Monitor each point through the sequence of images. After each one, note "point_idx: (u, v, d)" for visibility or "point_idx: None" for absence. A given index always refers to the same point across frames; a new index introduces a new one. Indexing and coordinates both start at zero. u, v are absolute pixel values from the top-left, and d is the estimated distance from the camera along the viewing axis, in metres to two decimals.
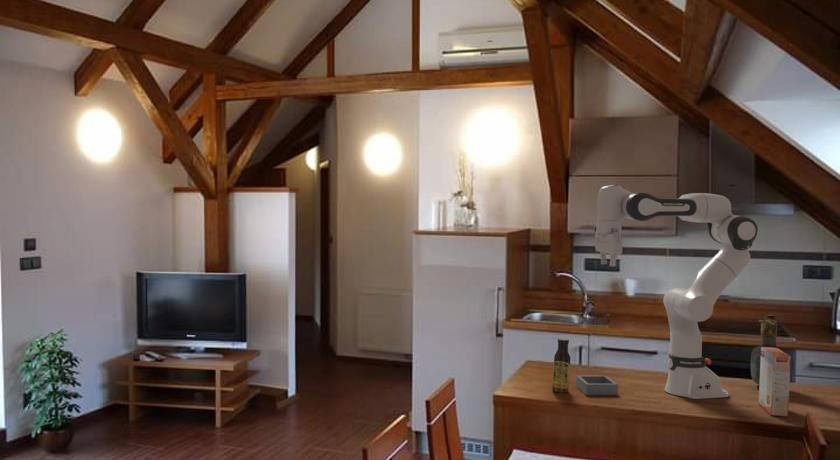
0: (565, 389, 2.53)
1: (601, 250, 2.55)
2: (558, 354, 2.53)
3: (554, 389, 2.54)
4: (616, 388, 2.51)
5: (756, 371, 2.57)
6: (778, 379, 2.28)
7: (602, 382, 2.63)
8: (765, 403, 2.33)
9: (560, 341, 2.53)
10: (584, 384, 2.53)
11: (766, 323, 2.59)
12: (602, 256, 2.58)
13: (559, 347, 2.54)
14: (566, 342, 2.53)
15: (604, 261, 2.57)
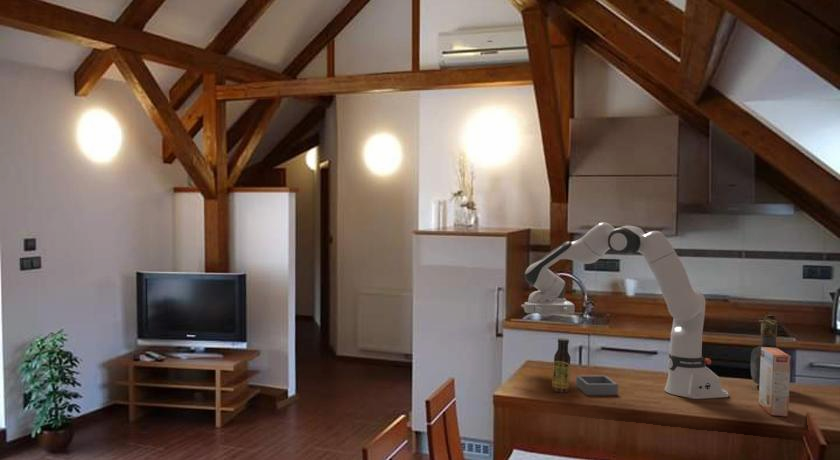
0: (565, 389, 2.53)
1: (556, 313, 2.73)
2: (558, 354, 2.53)
3: (554, 389, 2.54)
4: (616, 388, 2.51)
5: (756, 371, 2.57)
6: (778, 379, 2.28)
7: (602, 382, 2.63)
8: (765, 403, 2.33)
9: (560, 341, 2.53)
10: (584, 384, 2.53)
11: (766, 323, 2.59)
12: None
13: (559, 347, 2.54)
14: (566, 342, 2.53)
15: (562, 310, 2.69)
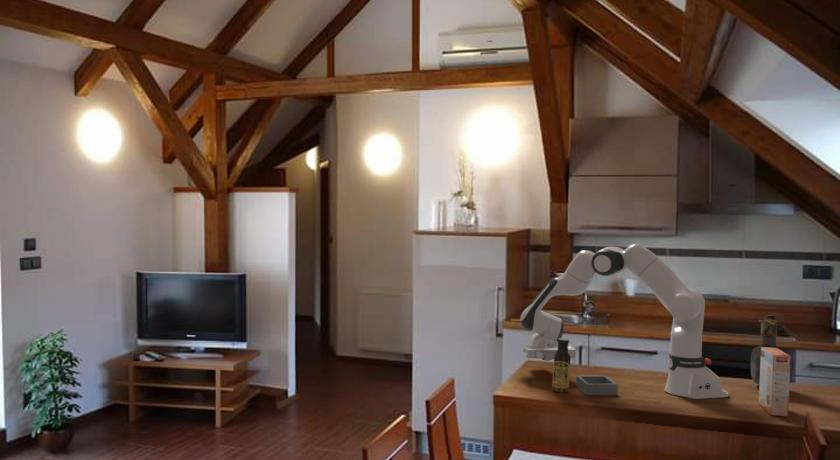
0: (565, 389, 2.53)
1: None
2: (558, 354, 2.53)
3: (554, 389, 2.54)
4: (616, 388, 2.51)
5: (756, 371, 2.57)
6: (778, 379, 2.28)
7: (602, 382, 2.63)
8: (765, 403, 2.33)
9: (560, 341, 2.53)
10: (584, 384, 2.53)
11: (766, 323, 2.59)
12: None
13: (559, 347, 2.54)
14: (566, 342, 2.53)
15: None
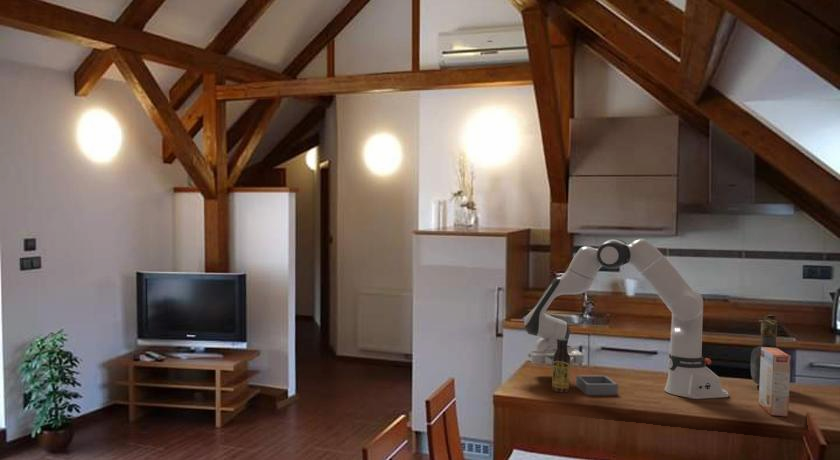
0: (565, 389, 2.53)
1: None
2: (557, 354, 2.53)
3: (554, 389, 2.54)
4: (616, 388, 2.51)
5: (756, 371, 2.57)
6: (778, 379, 2.28)
7: (602, 382, 2.63)
8: (765, 403, 2.33)
9: (559, 341, 2.53)
10: (584, 384, 2.53)
11: (766, 323, 2.59)
12: None
13: (558, 347, 2.54)
14: (565, 341, 2.53)
15: None
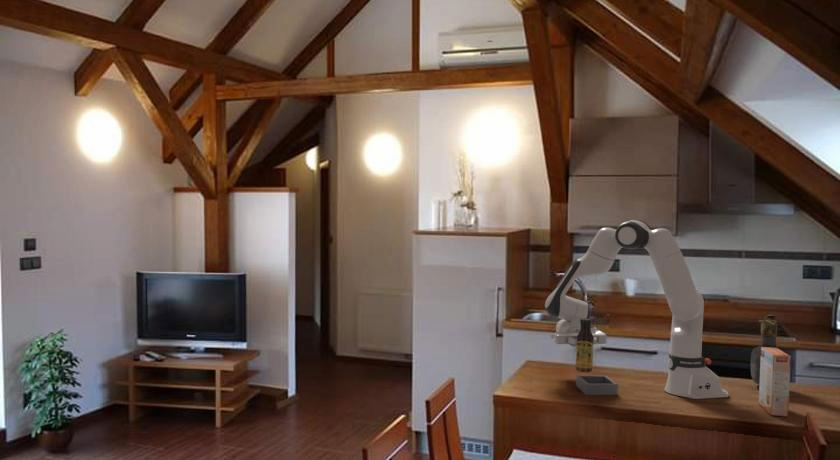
0: (589, 369, 2.53)
1: None
2: (581, 334, 2.54)
3: (578, 369, 2.55)
4: (616, 388, 2.51)
5: (756, 371, 2.57)
6: (778, 379, 2.28)
7: (602, 382, 2.63)
8: (765, 403, 2.33)
9: (583, 321, 2.54)
10: (584, 384, 2.53)
11: (766, 323, 2.59)
12: None
13: (581, 327, 2.55)
14: (589, 321, 2.53)
15: None
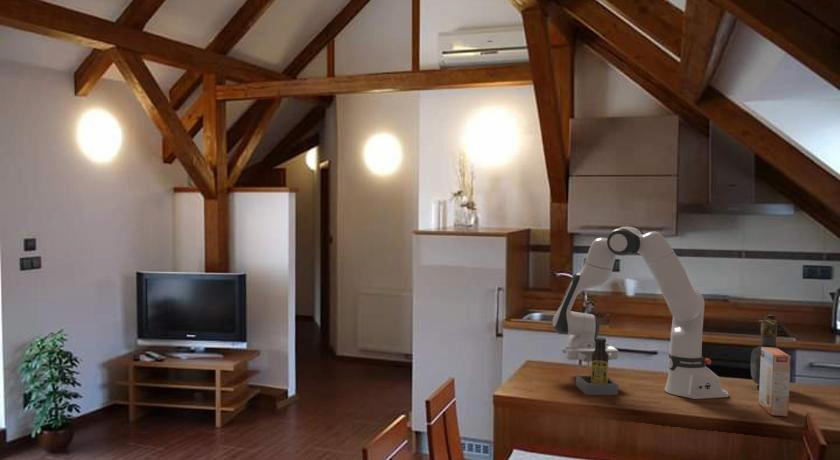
0: None
1: None
2: (596, 353, 2.55)
3: None
4: (616, 388, 2.51)
5: (756, 371, 2.57)
6: (778, 379, 2.28)
7: None
8: (765, 403, 2.33)
9: (597, 340, 2.55)
10: (584, 384, 2.53)
11: (766, 323, 2.59)
12: None
13: (596, 346, 2.56)
14: (603, 341, 2.55)
15: None
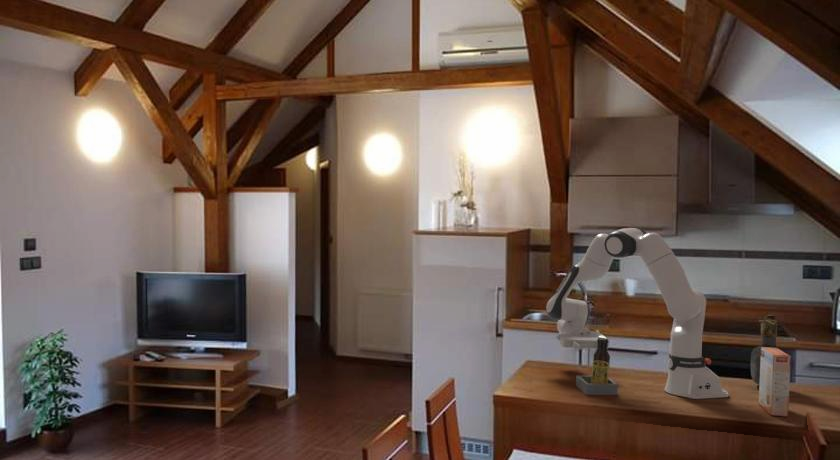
0: None
1: None
2: (598, 353, 2.55)
3: None
4: (616, 388, 2.51)
5: (756, 371, 2.57)
6: (778, 379, 2.28)
7: None
8: (765, 403, 2.33)
9: (600, 341, 2.55)
10: (584, 384, 2.53)
11: (766, 323, 2.59)
12: None
13: (598, 347, 2.56)
14: (606, 341, 2.55)
15: None
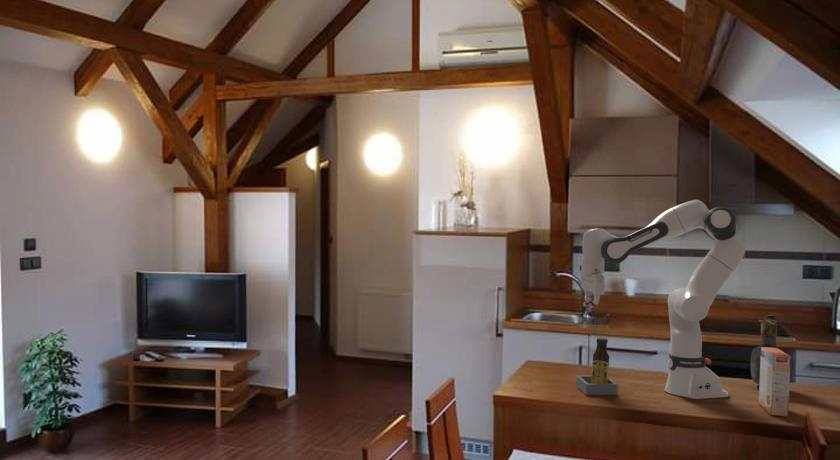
0: None
1: (586, 288, 2.76)
2: (597, 353, 2.55)
3: None
4: (616, 388, 2.51)
5: (756, 371, 2.57)
6: (778, 379, 2.28)
7: None
8: (765, 403, 2.33)
9: (599, 340, 2.55)
10: (584, 384, 2.53)
11: (766, 323, 2.59)
12: (587, 293, 2.79)
13: (598, 347, 2.56)
14: (605, 341, 2.55)
15: (589, 298, 2.77)
